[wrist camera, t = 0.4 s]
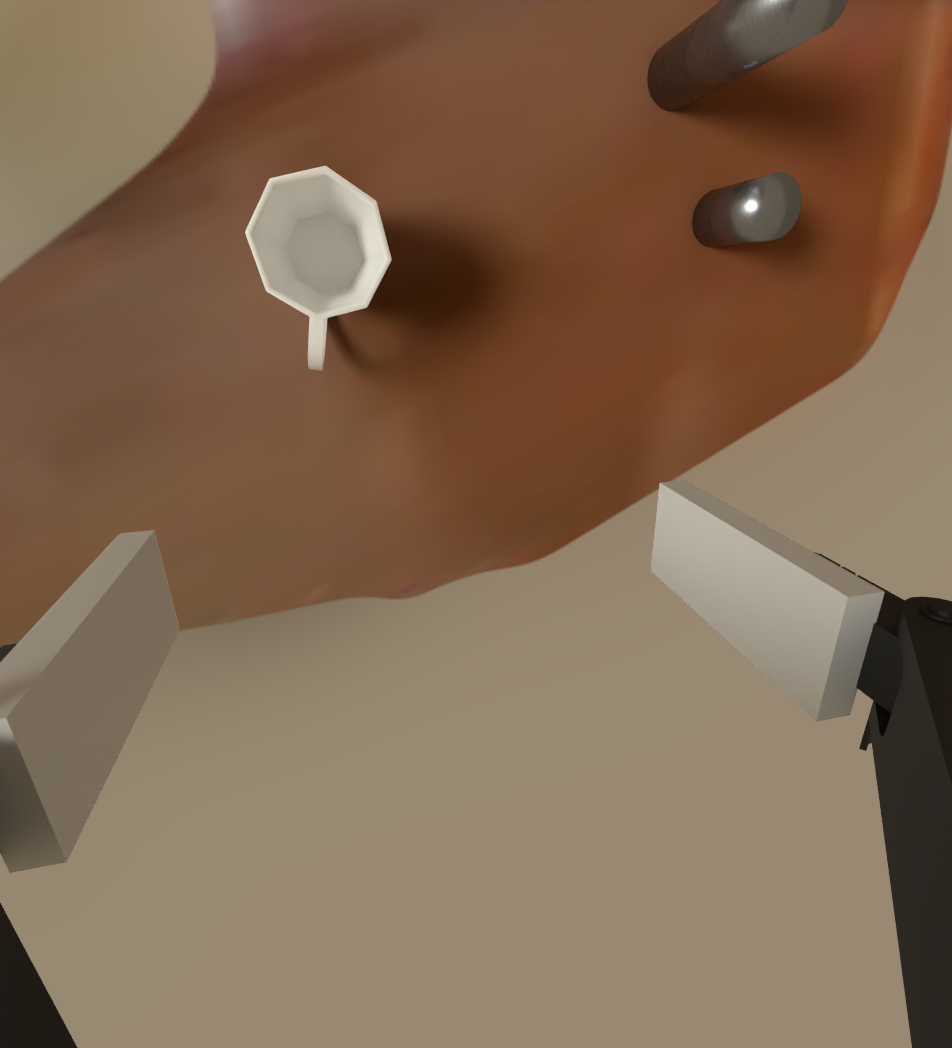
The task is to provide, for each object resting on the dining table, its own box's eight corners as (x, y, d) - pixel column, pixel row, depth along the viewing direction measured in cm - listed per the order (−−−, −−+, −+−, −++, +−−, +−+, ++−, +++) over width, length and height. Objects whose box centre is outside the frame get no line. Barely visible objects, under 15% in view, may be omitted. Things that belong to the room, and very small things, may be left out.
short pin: (695, 189, 39) (752, 172, 33) (742, 188, 39) (806, 172, 34) (689, 248, 40) (743, 241, 35) (735, 246, 41) (796, 239, 35)
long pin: (649, 40, 35) (787, -74, 24) (703, 42, 36) (860, -68, 25) (645, 110, 36) (773, 33, 26) (697, 111, 37) (843, 36, 26)
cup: (388, 204, 35) (399, 181, 28) (372, 369, 39) (379, 387, 31) (267, 179, 34) (246, 147, 26) (262, 354, 37) (242, 369, 30)
